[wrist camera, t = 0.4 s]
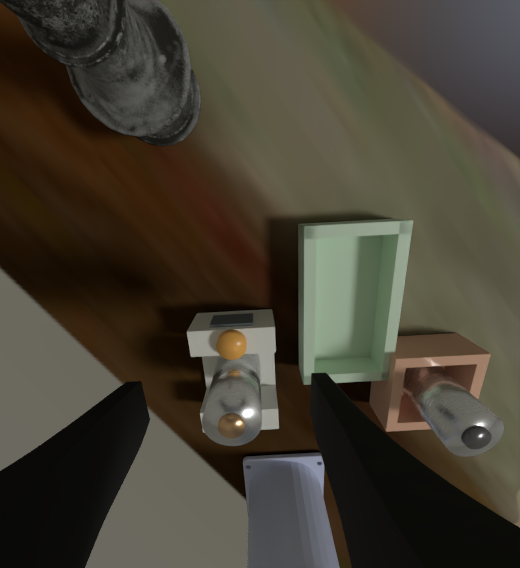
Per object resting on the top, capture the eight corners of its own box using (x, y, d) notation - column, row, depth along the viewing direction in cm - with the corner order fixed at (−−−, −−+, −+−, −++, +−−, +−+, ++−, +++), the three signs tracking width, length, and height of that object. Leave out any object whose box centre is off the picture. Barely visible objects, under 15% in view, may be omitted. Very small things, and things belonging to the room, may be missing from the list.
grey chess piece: (95, 117, 15) (-415, -165, 4) (128, 12, 14) (-567, -1051, 2) (182, 169, 16) (-3, 75, 5) (222, 76, 14) (95, -410, 3)
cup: (442, 398, 22) (470, 426, 19) (369, 402, 22) (385, 431, 19) (457, 333, 20) (490, 353, 17) (376, 337, 20) (396, 359, 17)
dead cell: (431, 388, 21) (500, 459, 15) (390, 390, 21) (443, 462, 15) (438, 353, 20) (515, 415, 14) (395, 355, 20) (454, 418, 14)
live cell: (261, 378, 21) (263, 449, 15) (219, 381, 21) (204, 452, 15) (259, 342, 20) (260, 401, 14) (214, 344, 20) (196, 405, 14)
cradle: (275, 399, 22) (279, 435, 18) (210, 403, 22) (201, 439, 18) (272, 306, 19) (275, 328, 16) (196, 310, 19) (183, 333, 16)
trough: (376, 361, 21) (391, 379, 19) (298, 366, 21) (303, 384, 19) (393, 218, 17) (413, 220, 15) (298, 223, 17) (304, 226, 15)
